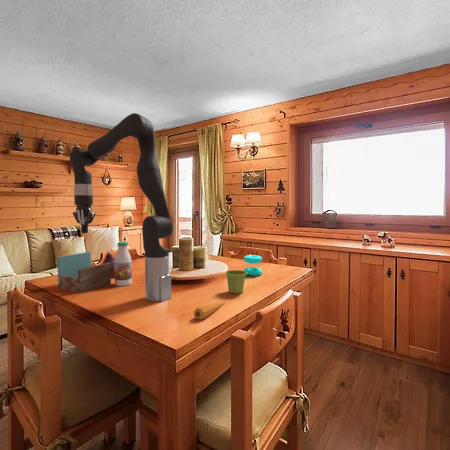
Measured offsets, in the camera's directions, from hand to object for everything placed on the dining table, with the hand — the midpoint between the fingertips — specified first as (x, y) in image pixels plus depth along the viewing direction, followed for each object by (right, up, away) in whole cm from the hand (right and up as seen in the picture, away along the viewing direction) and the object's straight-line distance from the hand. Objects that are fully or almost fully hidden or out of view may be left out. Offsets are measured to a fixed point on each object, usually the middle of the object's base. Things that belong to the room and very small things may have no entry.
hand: (84, 233), depth 137 cm
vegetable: (+4, -23, +21) cm, 32 cm away
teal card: (-7, -22, +5) cm, 24 cm away
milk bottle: (+16, -25, +6) cm, 30 cm away
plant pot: (+68, -26, -6) cm, 73 cm away
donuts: (+79, -23, +27) cm, 86 cm away
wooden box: (-1, -24, +2) cm, 25 cm away
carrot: (+59, -28, -29) cm, 72 cm away
